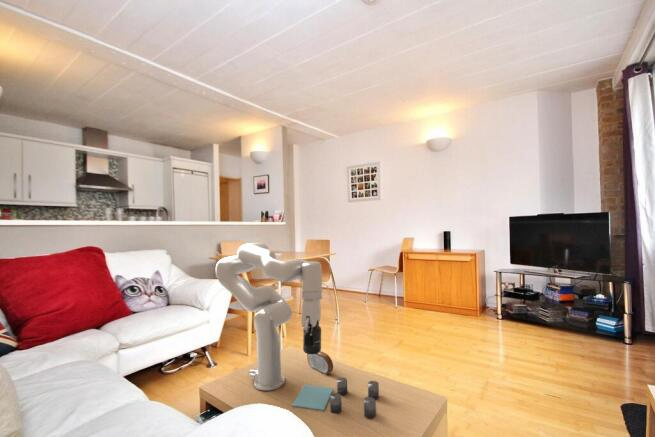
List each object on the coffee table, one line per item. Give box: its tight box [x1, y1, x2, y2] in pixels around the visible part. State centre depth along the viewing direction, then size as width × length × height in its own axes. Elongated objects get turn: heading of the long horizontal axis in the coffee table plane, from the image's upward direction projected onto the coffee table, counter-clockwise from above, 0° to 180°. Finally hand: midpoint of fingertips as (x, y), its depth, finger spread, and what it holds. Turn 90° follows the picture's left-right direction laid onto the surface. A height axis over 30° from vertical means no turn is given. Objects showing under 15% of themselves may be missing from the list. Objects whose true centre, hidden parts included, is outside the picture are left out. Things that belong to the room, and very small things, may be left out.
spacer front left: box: [329, 392, 343, 415], centre depth 108 cm, size 4×4×5 cm
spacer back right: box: [367, 380, 380, 401], centre depth 115 cm, size 4×4×5 cm
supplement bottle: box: [302, 319, 322, 355], centre depth 116 cm, size 7×7×12 cm
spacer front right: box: [363, 396, 377, 420], centre depth 105 cm, size 4×4×5 cm
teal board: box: [291, 384, 334, 412], centre depth 116 cm, size 12×14×1 cm
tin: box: [306, 350, 334, 375], centre depth 137 cm, size 15×3×8 cm, turn 43°
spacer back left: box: [336, 376, 349, 397], centre depth 119 cm, size 4×4×5 cm
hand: (312, 341), depth 116 cm, fingers closed on supplement bottle, 6 cm apart
